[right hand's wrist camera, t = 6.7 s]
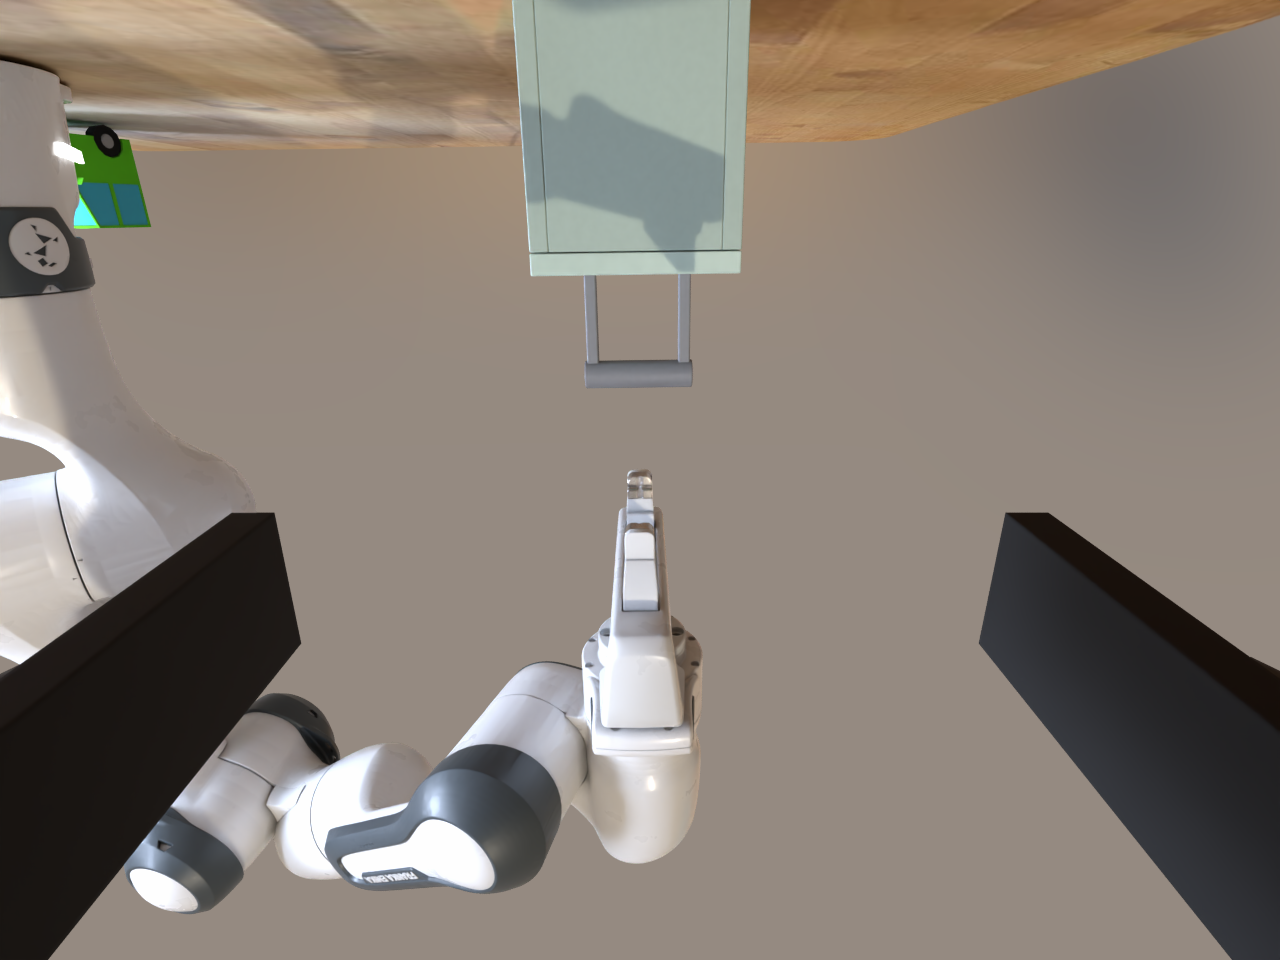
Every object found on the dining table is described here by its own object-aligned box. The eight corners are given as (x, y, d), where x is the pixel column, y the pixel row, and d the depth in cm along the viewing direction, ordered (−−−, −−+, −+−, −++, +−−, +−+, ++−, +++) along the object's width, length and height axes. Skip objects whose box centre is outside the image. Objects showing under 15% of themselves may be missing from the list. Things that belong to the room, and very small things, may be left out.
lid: (710, 239, 43) (708, 374, 46) (563, 241, 43) (569, 376, 46) (741, 250, 30) (734, 438, 33) (529, 254, 30) (542, 440, 33)
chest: (716, 26, 38) (712, 239, 42) (550, 29, 38) (561, 241, 43) (753, -64, 26) (741, 249, 30) (508, -60, 26) (529, 252, 30)
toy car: (0, 110, 61) (37, 229, 65) (133, 127, 73) (158, 226, 77) (-85, 115, 64) (-45, 230, 67) (58, 131, 76) (85, 227, 79)
